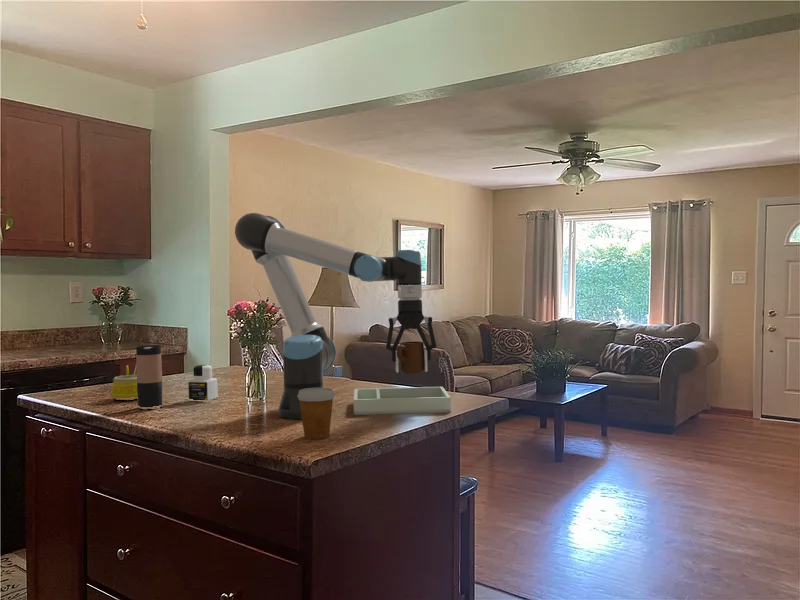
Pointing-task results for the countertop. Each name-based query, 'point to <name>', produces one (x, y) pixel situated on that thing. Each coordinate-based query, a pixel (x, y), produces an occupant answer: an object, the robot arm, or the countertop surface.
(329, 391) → the disposable coffee cup
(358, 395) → the box
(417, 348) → the mug
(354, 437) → the countertop surface
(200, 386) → the medicine bottle
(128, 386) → the yellow birthday cake
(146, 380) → the travel mug
